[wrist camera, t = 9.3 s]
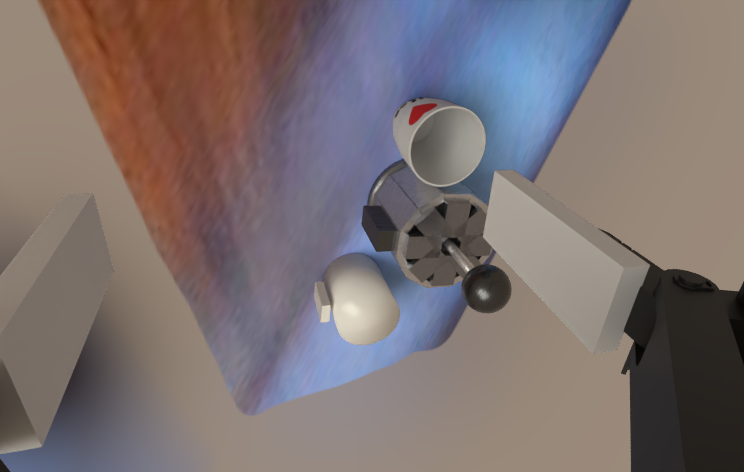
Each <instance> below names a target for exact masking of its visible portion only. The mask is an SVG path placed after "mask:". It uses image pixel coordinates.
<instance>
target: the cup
mask: <svg viewBox="0 0 744 472" xmlns="http://www.w3.org/2000/svg"><path fill="white" fill-rule="evenodd" d="M393 135H394V139H395V142H396V144H397V146H398V149H399V151H400V153H401V155H402V157H403V159H404V160H405V161H406V163H407V164H408V165H409V167H410V168H411V169H412V171H413V172H414V173H415V175H416V176H417V177H418V178H419V179H420V180H421V181H423V182H425V183H426V184H429V185H432V186H437V187H444V186H450V185H453V184H456V183H458V182H460V181H462V180H464V179H465V178H466V177H468V176H469V175H470V174H471V173H472V172H473V171H474V170H475V168H476V167H477V166H478V164H479V163H480V161H481V159H482V156H483V154H484V150H485V145H486V134H485V129H484V126H483V124H482V122H481V120H480V119H479V118H478V116H477V115H476V114H475V113H473V112H472V111H470V110H469V109H466V108H464V107H461V106H459V105H456V104H454V103H451V102H448V101H446V100H441V99H434V98H417V99H413V100H410V101H407V102H405V103H404V104H402V105H401V106H400V107H399V108H398V109H397V111H396V113H395V115H394V118H393Z"/></svg>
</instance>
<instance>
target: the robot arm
mask: <svg viewBox="0 0 744 472" xmlns="http://www.w3.org/2000/svg"><path fill="white" fill-rule="evenodd" d="M483 238H484V239H485V240H486V241H487V242H488V243H489V244H490V245H491V246H492V248H493V249H494V250H495V251H496V252H497V253H498V254H499V255H500V256H501V257H502V258H503V259H504V260H505V261H506V262H507V263H508V264H509V265H510V266H511V267H512V269H513V270H514V271H515V272H516V273H517V274H518V275H519V276H520V277H521V278H522V279H523V280H524V281H525V282H526V283H527V284H528V286H529V287H531V289H532V290H533V291H534V292H535V293H536V294H537V295H538V296H539V297H540V298H541V299H542V300H543V301H544V302H545V303H546V305H547V306H548V307H549V308H550V309H551V310H552V311H553V312H554V313H555V314H556V315H557V316H558V317H559V318H560V319H561V320H562V321H563V322H564V323H565V324H566V326H567V327H568V328H569V329H570V330H571V331H572V332H573V333H574V334H575V335H576V336H577V337H578V338H579V339H580V340H581V341H582V343H583V344H584V345H585V346H586V347H587V348H588V349H589V350H590V351H591V352H592V353H593V354H596V353H602V352H607V351H613V350H617V349H618V346H619V344H620V341H621V338H622V336H623V333H624V332H625V333H626V334H628V336H630V337H631V338H632V339H633V340H634V342H633V345H632V347H631V350H630V352H629V355H628V357H627V360H626V362H625V365H624V367H623V369H622V372H621V373H622V374H626V372H627V370H629V369H630V423H631V472H744V282H743V284H742V286H741V289H740V290H739V292H738V291H727V290H726V291H725V290H719V289H718V287H717V286H716V285H715V284H714V283H713V282H711V281H710V280H708V279H707V278H705V277H703V276H701V275H699V274H696V273H692V272H689V271H685V270H678V269H671V270H670V269H668V270H666V271H664V270H662V269H660V268H659V267H658V266H656V265H655V264H653V263H652V262H651V261H649V260H648V259H646V258H645V257H643V256H642V255H640V254H639V253H638V252H636V251H635V250H631V248H630V247H629V246H627V245H626V244H624V243H621V241H620V240H619V239H617V238H616V237H614V236H613V235H611V234H610V233H608V232H606V231H603V230H601V229H599V228H597V227H595V226H594V225H592V224H591V223H589V222H587V221H586V220H585V219H583V218H582V217H581V216H579V215H578V214H576V213H575V212H574V211H572V210H571V209H569V208H567V207H566V206H565V205H563V204H562V203H561V202H559V201H558V200H556V199H555V198H553V197H552V196H551V195H549V194H548V193H546V192H545V191H543V190H542V189H541V188H539V187H538V186H536V185H535V184H533V183H532V182H530V181H529V180H528V179H526V178H525V177H523V176H522V175H520V174H519V173H518V172H516V171H515V170H499V171H495V172H494V177H493V183H492V188H491V194H490V200H489V205H488V211H487V216H486V222H485V227H484V233H483ZM113 272H114V270H113V266H112V262H111V259H110V255H109V251H108V248H107V244H106V240H105V236H104V232H103V229H102V225H101V221H100V217H99V214H98V210H97V206H96V202H95V199H94V195H93V193H83V194H82V193H81V194H64V195H63V196H62V197H61V199H60V200H59V201H58V203H57V204H56V205H55V206H54V208H53V209H52V210H51V212H50V213H49V214H48V215H47V217H46V218H45V219H44V221H43V222H42V223H41V224H40V226H39V227H38V228H37V229H36V231H35V232H34V233H33V235H32V236H31V237H30V238H29V240H28V241H27V242H26V244H25V245H24V246H23V247H22V249H21V250H20V251H19V253H18V254H17V255H16V256H15V258H14V259H13V260H12V261H11V263H10V264H9V265H8V267H7V268H6V269H5V270H4V272H3V273H2V274H1V276H0V454H3V453H9V452H14V451H21V450H26V449H32V448H39V447H42V446H43V443H44V441H45V438H46V436H47V433H48V431H49V429H50V426H51V424H52V421H53V419H54V416H55V414H56V411H57V409H58V406H59V404H60V401H61V399H62V397H63V394H64V392H65V389H66V387H67V385H68V382H69V380H70V377H71V375H72V372H73V370H74V367H75V365H76V363H77V360H78V358H79V355H80V353H81V350H82V348H83V345H84V343H85V341H86V338H87V336H88V333H89V331H90V328H91V326H92V323H93V321H94V319H95V316H96V314H97V311H98V309H99V306H100V304H101V301H102V299H103V297H104V294H105V292H106V289H107V287H108V284H109V282H110V279H111V277H112V274H113ZM0 472H10V471H9V470H8V468H7V467H6V466H5V465H4V463H3V462H2V461H1V459H0Z"/></svg>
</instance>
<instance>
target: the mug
mask: <svg viewBox="0 0 744 472" xmlns="http://www.w3.org/2000/svg"><path fill="white" fill-rule="evenodd" d="M314 299H315V302H316V306H317V310H318V314H319V317H320V321H321V322H329V318H330V307H331V310H332V313H333V316H334V320H335V323H336V326H337V329H338V332H339V334H340V336H341V337H342V338H343V339H344V340H346V341H347V342H349V343H352V344H356V345H369V344H373V343H376V342H378V341H381V340H382V339H384V338H385V337H387V336H388V335H389V334H390V333H391V332H392V331H393V330H394V329H395V327H396V325H397V324H398V321H399V317H400V310H399V307H398V304H397V302H396V300H395V298H394V297H393V295H392V293H391V291H390V289H389V287H388V285H387V283H386V281H385V279H384V277H383V275H382V273H381V271H380V270H379V268H378V266H377V264H376V262H375V261H374V260H373V259H372V258H371V257H369V256H367V255H365V254H360V253H350V254H346V255H343V256H341V257H339V258H337V259H336V260H334V261H333V262H332V263H331V264H330V265H329V266H328V268H327V270H326V272H325V274H324V279H323V282H315V295H314Z"/></svg>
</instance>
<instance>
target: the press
mask: <svg viewBox="0 0 744 472" xmlns="http://www.w3.org/2000/svg"><path fill="white" fill-rule="evenodd" d="M443 202H445V203H444V208H443V213H442V216H441V215H440V213H439V212H438V211H437V210H436V209H435V208H434V207H436V206H438V205H440V204H441V203H443ZM487 211H488V205H487V204H486V203H485V202H483V201H482V200H481V199H480V198H479V197H478V196H476V195H475V194H474V193H473V192H472V191H471V190H469V189H468V188H467V187H466V186H465V185H464V184H462V183H461V182H458V183H456V184H453V185H450V186H444V187H437V186H432V185H429V184H426V183H425V182H423V181H421V180H420V179H419V178H418V177H417V176H416V175H415V173H414V172H413V171H412V169H411V168H410V167H409V165H408V164H407V163H406V161H405V160H404V159H402V160H400V161H397V162H395V163H394V164H392V165H390V166H389V167H388V168H387V169H385V170H384V171H383V172H382V173H381V174H380V175H379V177H378V178H377V179H376V181H375V182H374V184H373V186H372V188H371V190H370V193H369V197H368V204H367V206H364V207H363V216H362V226H363V228H364V230H365V232H366V234H367V236H368V237H369V239H370V241H371V243H372V245H373V247H374V248H375V250H376V252H381V251H391V253H392V255H393V256H394V258H395V260H396V261H397V263H398V265H399V266H400V268H401V270H402V271H403V273H404V275H405V276H406V278H408V279H410V280H412V281H414V282H416V283H418V284H420V285H422V286H424V287H427V288H431V287H447V286H452V285H454V284H456V283H458V282H460V281H462V280H463V279H464V277H465V275H466V274H467V273H466V272H465V271H464V270H463V268H462V267H461V266H460V265H459V264H458V262H457V261H456V260H455V259H454V257H453V256H452V255H451V254H450V253H449V251H448V250H447V249H446V248H445V246H444V245H443V244H442V243H443V242H444V241H445V240H446V239H448V238H450V239H451V240H452V241H453V242H454V244H455V245H456V246H457V247H458V248H459V249H460V250H461V252H462V253H463V254H464V255H465V256H466V257H467V259H468V260H469V261H470V262H471V263H472V264H473V266H474V267H476V266H478V265H482V264H483V263H484V262H485V260H486V259H487V258H488V257H489V256H490V254H491V253H492V249H493V248H492V246H491V245H490V244H489V243H488V242H487V241H486V240H485V239H484V238H483V233H484V227H485V222H486V216H487ZM424 212H425V213H424ZM422 213H423V214H422ZM414 224H415V226H416V227H417V228H418V229H419V230H420V231H421V232H422V233H408V232H409V231H410V229H411V228H412V227H413V225H414Z"/></svg>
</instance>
